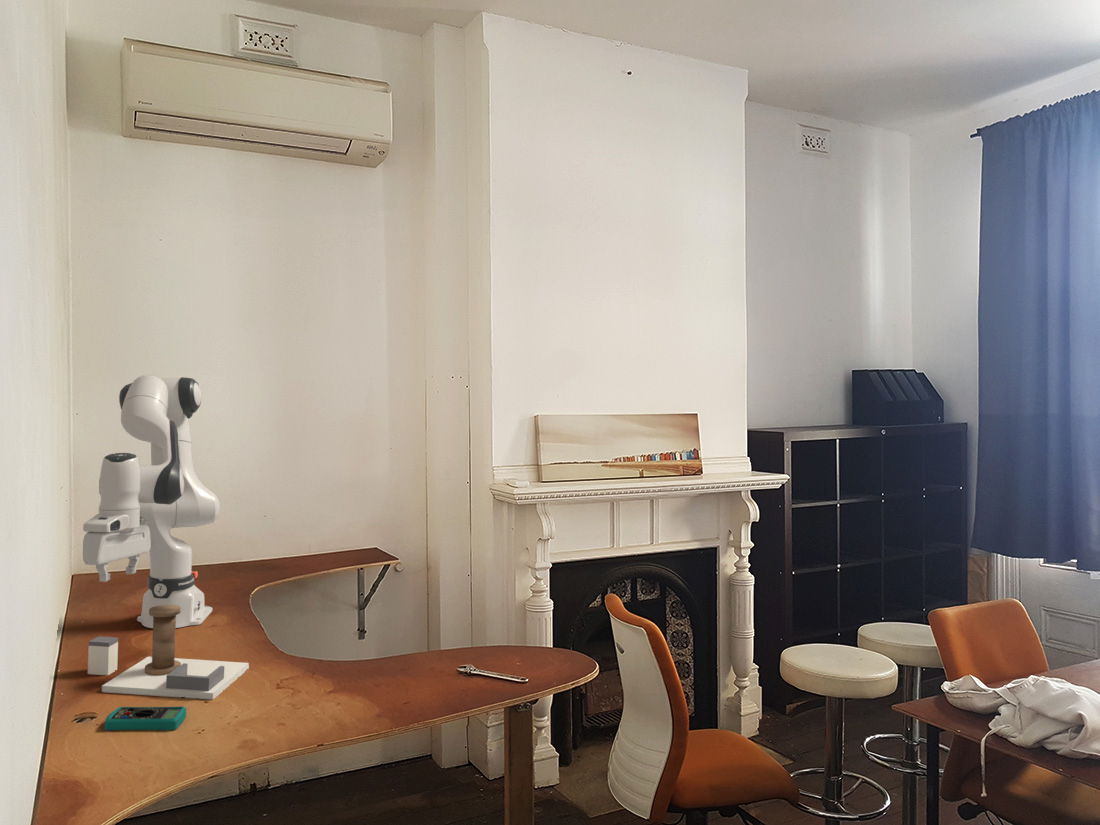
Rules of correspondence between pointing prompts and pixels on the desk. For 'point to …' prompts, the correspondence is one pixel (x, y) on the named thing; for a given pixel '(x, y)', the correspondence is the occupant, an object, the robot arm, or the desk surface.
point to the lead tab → (102, 655)
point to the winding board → (178, 679)
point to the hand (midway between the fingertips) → (118, 577)
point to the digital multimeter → (145, 718)
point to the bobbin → (163, 640)
